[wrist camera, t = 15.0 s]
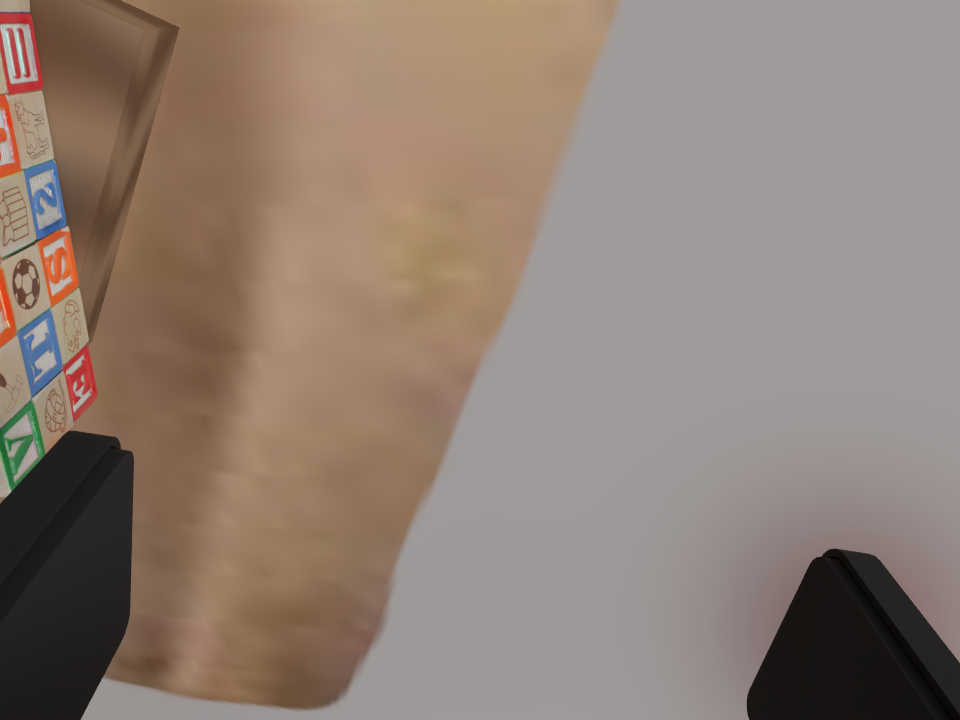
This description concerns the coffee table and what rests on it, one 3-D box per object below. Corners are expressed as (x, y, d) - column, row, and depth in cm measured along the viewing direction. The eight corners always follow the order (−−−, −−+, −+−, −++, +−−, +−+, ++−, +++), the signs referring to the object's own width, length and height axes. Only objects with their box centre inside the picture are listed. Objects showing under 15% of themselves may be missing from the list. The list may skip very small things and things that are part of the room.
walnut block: (-11, -62, 35) (-79, -73, 31) (181, 27, 37) (143, 29, 33) (-71, 277, 42) (-134, 309, 37) (94, 338, 44) (53, 376, 39)
